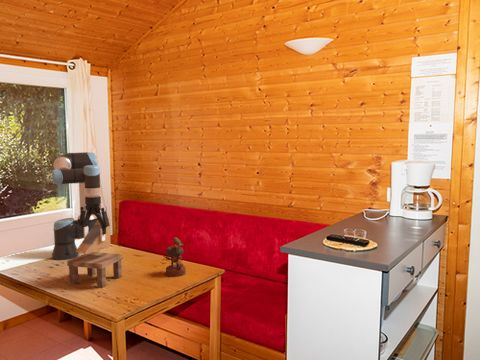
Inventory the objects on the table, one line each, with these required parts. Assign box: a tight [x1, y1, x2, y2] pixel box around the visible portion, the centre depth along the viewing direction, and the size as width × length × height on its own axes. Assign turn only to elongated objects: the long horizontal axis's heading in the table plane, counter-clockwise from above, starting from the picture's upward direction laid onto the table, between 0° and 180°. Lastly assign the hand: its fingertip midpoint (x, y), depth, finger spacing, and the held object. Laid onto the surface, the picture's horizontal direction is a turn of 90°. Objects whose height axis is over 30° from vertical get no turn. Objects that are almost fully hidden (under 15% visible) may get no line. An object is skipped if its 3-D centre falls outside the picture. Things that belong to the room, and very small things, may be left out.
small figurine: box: [163, 237, 187, 278], centre depth 223 cm, size 15×11×20 cm
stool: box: [66, 251, 124, 289], centre depth 214 cm, size 20×18×12 cm
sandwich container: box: [76, 218, 112, 254], centre depth 211 cm, size 9×15×15 cm, turn 146°
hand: (94, 240), depth 212 cm, fingers closed on sandwich container, 9 cm apart
